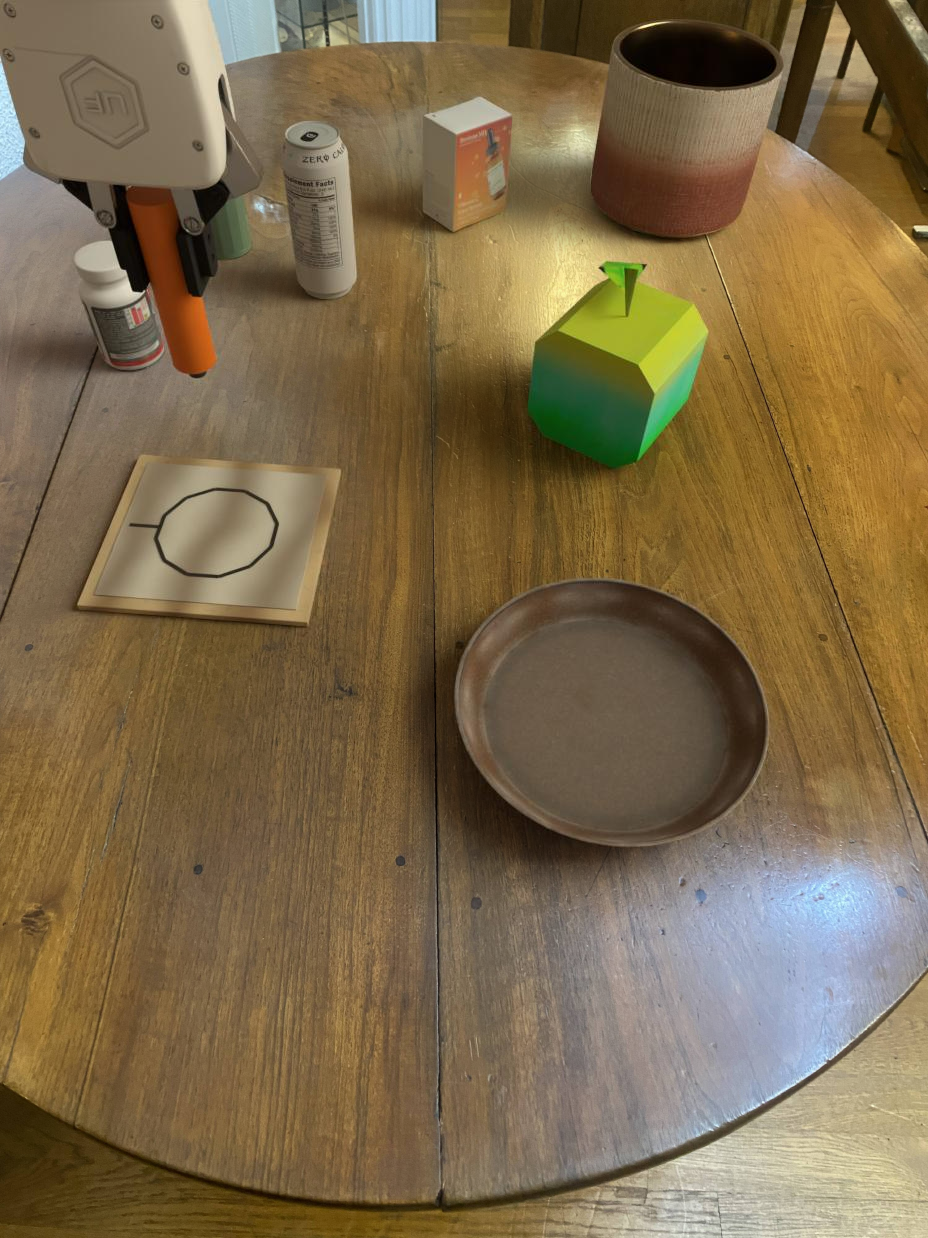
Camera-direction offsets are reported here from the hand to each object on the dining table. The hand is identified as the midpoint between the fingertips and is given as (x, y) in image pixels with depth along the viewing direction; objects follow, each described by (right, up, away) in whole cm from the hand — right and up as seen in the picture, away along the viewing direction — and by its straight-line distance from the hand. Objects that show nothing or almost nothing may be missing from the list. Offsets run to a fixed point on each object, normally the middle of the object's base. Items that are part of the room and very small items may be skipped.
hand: (173, 279), depth 53 cm
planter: (+41, +28, +48) cm, 69 cm away
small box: (+18, +25, +46) cm, 55 cm away
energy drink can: (+4, +14, +37) cm, 39 cm away
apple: (+30, -3, +25) cm, 40 cm away
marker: (0, -4, +6) cm, 7 cm away
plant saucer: (+27, -28, +7) cm, 40 cm away
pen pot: (-8, +19, +40) cm, 45 cm away
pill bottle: (-13, +4, +29) cm, 32 cm away
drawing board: (-2, -14, +16) cm, 21 cm away
